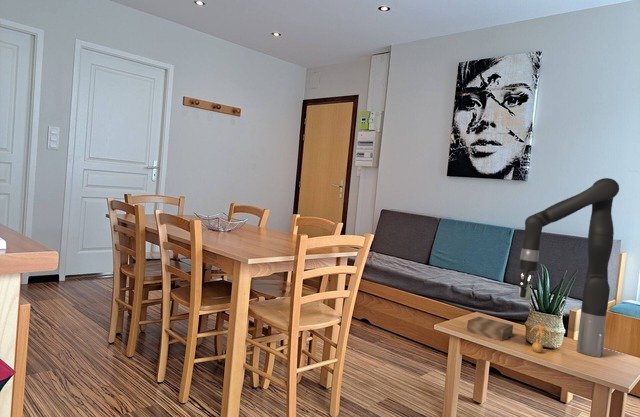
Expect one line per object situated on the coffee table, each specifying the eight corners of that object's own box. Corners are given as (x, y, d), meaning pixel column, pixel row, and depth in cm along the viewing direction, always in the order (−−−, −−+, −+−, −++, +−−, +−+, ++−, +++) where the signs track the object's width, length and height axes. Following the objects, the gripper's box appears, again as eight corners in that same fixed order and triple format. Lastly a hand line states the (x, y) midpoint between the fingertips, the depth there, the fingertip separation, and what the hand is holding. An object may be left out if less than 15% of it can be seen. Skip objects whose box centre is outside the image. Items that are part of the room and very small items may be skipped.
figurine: (524, 349, 188) (527, 321, 188) (530, 347, 192) (534, 319, 192) (545, 356, 182) (548, 326, 182) (551, 353, 186) (554, 325, 186)
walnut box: (512, 335, 208) (513, 325, 208) (501, 340, 198) (503, 329, 197) (478, 326, 219) (479, 316, 218) (466, 331, 208) (467, 320, 208)
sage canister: (531, 299, 204) (533, 284, 204) (528, 301, 200) (530, 285, 200) (520, 297, 207) (521, 282, 207) (516, 298, 203) (518, 283, 203)
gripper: (533, 261, 195) (528, 300, 196) (542, 260, 206) (537, 297, 206) (515, 258, 200) (510, 296, 200) (525, 257, 211) (520, 293, 211)
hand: (524, 296), depth 203 cm, fingers closed on sage canister, 5 cm apart
